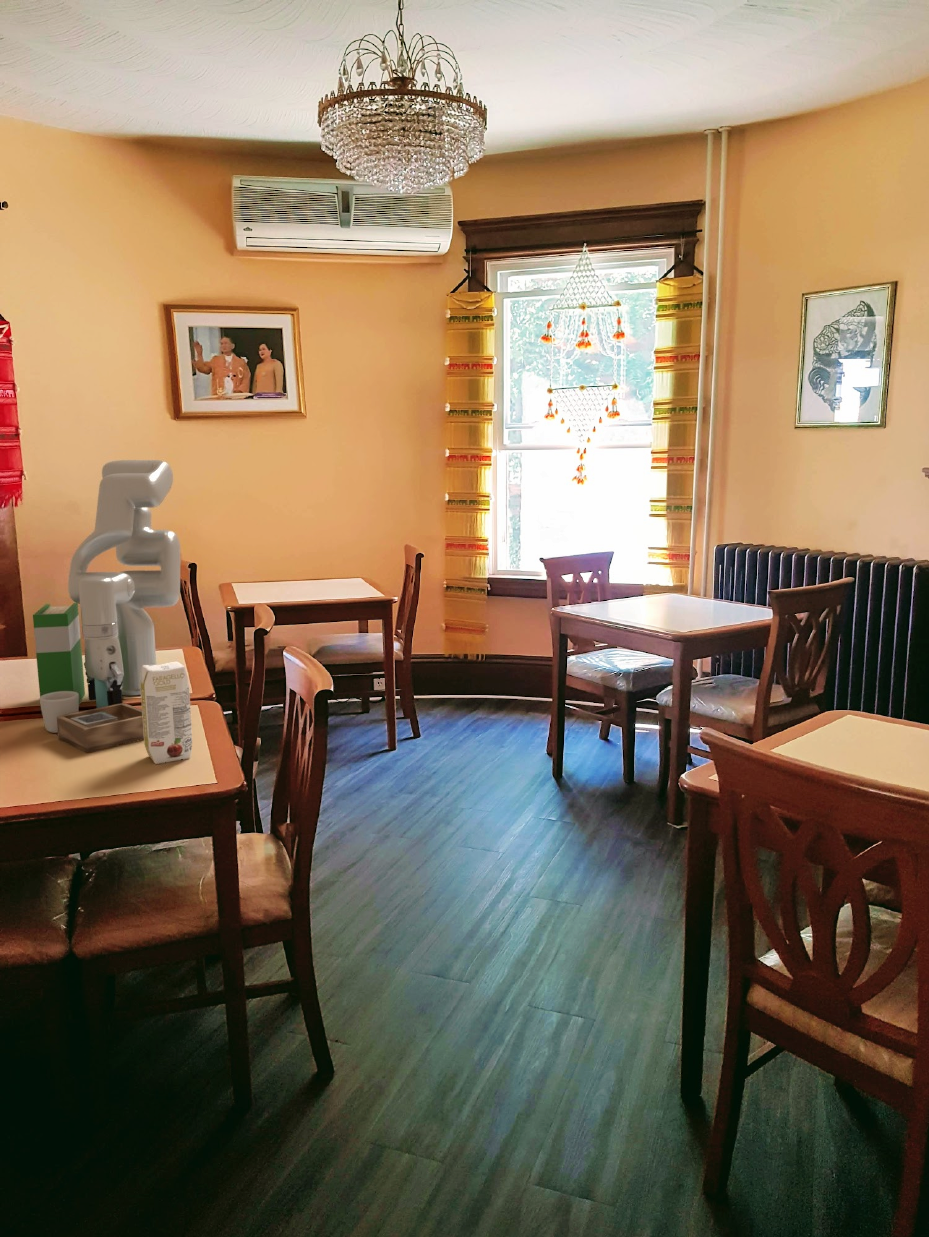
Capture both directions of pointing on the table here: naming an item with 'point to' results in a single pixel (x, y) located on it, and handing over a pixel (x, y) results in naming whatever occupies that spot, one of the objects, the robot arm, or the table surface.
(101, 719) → the socket
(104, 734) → the box
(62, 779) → the table surface
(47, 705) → the cup
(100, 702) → the plug
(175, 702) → the juice carton
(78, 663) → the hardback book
